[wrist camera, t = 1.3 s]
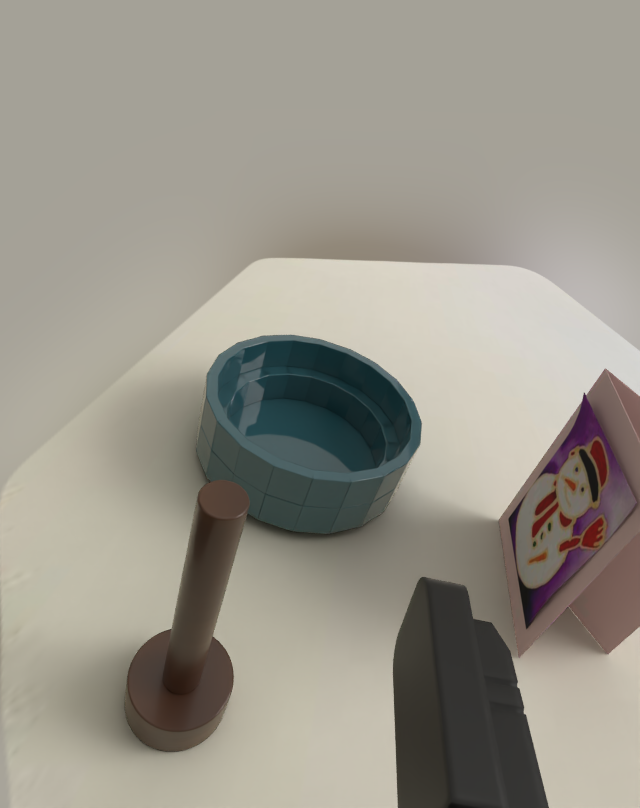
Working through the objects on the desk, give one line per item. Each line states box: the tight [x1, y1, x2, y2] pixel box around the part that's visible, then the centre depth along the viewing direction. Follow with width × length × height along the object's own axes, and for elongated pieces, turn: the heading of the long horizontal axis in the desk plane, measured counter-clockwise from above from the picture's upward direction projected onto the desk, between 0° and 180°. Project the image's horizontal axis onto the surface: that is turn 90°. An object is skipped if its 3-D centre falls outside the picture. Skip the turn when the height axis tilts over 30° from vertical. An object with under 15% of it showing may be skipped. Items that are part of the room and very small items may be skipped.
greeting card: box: [499, 369, 640, 658], centre depth 36 cm, size 11×7×15 cm, turn 172°
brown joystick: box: [125, 480, 250, 752], centre depth 25 cm, size 5×5×15 cm
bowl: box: [196, 335, 422, 534], centre depth 43 cm, size 16×16×6 cm
